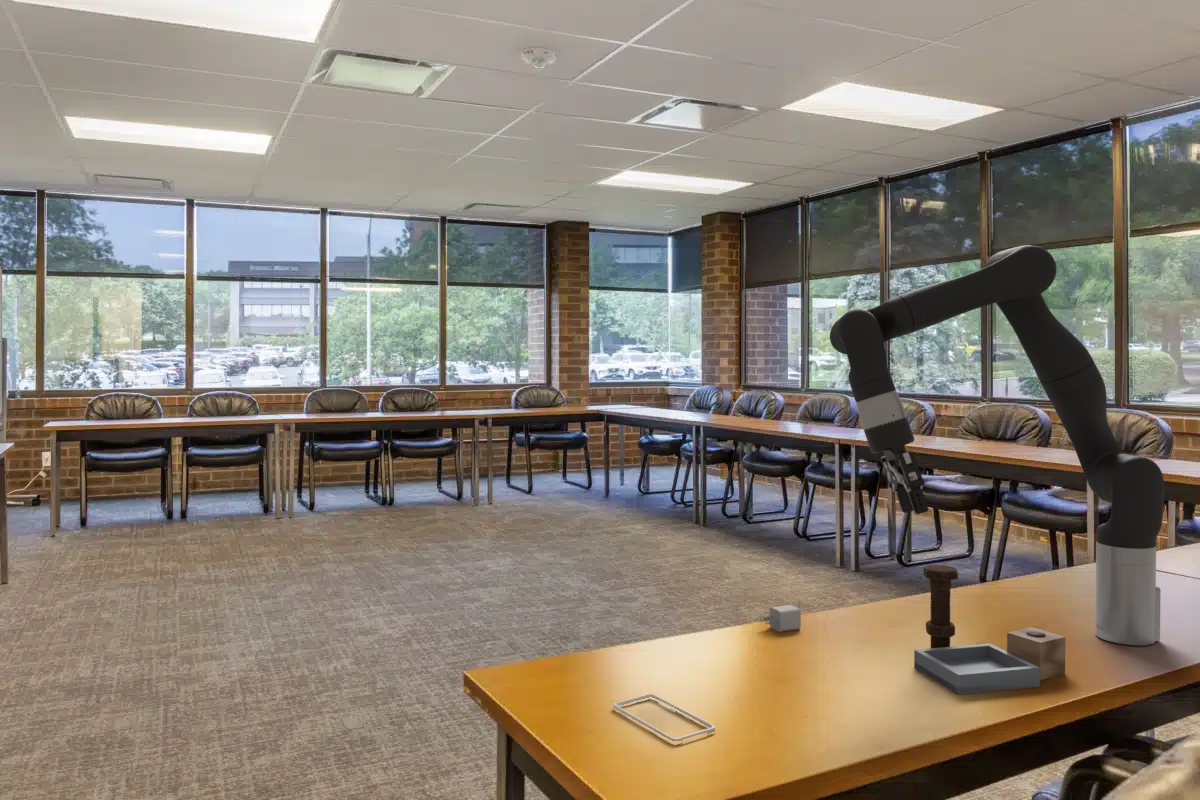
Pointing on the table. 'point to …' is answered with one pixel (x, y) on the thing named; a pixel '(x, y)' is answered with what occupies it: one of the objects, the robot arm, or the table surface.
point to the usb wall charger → (784, 618)
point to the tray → (976, 668)
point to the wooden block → (1039, 650)
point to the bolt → (940, 604)
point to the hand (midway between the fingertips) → (915, 512)
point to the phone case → (616, 706)
